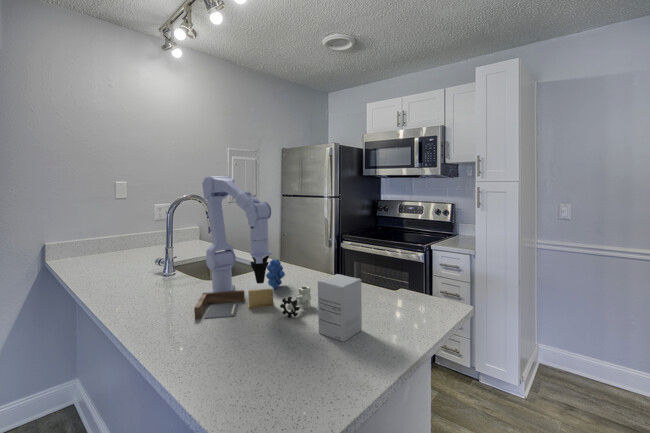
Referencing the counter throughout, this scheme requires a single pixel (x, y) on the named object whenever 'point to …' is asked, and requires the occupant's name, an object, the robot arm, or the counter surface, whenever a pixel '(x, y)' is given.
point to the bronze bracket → (260, 298)
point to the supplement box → (339, 307)
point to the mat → (221, 310)
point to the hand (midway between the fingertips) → (260, 279)
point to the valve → (297, 302)
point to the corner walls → (217, 299)
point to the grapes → (275, 273)
